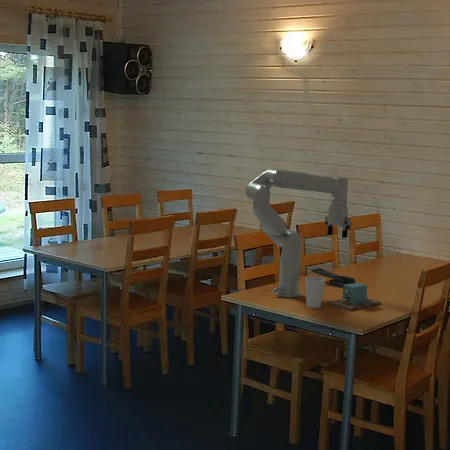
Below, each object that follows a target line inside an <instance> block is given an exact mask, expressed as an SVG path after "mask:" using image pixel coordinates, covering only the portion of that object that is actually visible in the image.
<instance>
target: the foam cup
mask: <svg viewBox="0 0 450 450" xmlns="http://www.w3.org/2000/svg"><path fill="white" fill-rule="evenodd" d="M325 285H326V278H325V277H324V276H323V277H322V276H312V275H311V276H305V277H304V286H305V288H304V289H305V297H306V299H305V301H306V306H307V307H308V308H310V309H311V308H312V309H318V308H321V306H322V302H323V301H322V300H323V295H324V291H325Z"/></svg>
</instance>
